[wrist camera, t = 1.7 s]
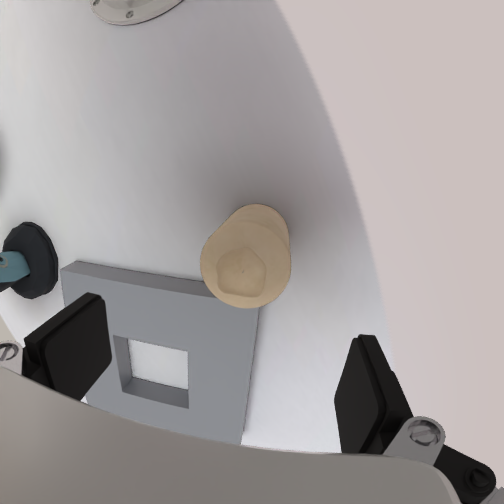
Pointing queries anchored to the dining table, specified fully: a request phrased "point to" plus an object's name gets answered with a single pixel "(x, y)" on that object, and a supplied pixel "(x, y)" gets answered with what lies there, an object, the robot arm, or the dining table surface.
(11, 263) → the electric shaver
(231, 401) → the dock
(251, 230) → the candle
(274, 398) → the dining table surface
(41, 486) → the robot arm
